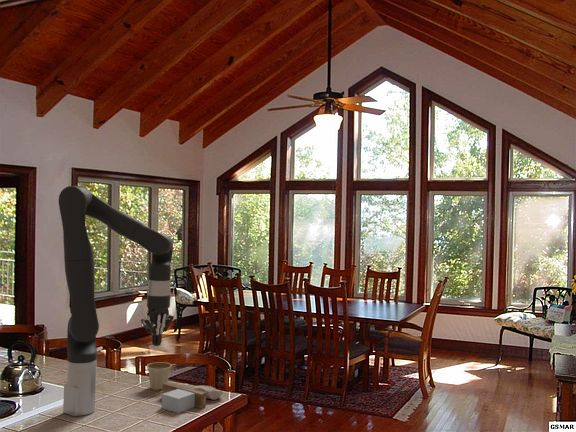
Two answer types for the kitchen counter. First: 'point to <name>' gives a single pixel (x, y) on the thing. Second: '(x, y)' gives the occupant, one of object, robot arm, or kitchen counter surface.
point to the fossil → (209, 392)
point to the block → (178, 400)
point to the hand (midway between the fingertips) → (156, 345)
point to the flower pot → (158, 374)
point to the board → (199, 395)
